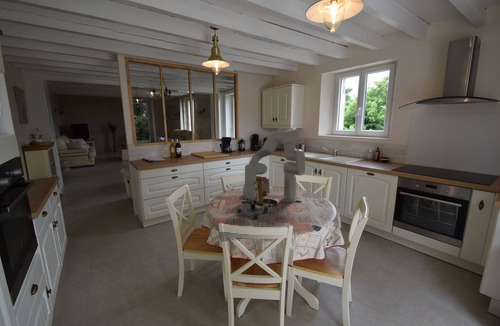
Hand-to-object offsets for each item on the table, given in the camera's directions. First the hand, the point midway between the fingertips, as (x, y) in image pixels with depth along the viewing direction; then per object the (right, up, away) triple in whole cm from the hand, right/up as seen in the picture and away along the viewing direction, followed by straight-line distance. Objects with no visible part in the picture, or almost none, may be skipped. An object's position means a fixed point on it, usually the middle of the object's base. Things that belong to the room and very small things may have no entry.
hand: (250, 207), depth 153 cm
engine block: (0, 0, 0) cm, 0 cm away
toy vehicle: (+6, +3, +41) cm, 42 cm away
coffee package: (+4, -1, +22) cm, 23 cm away
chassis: (+2, -4, +3) cm, 6 cm away
